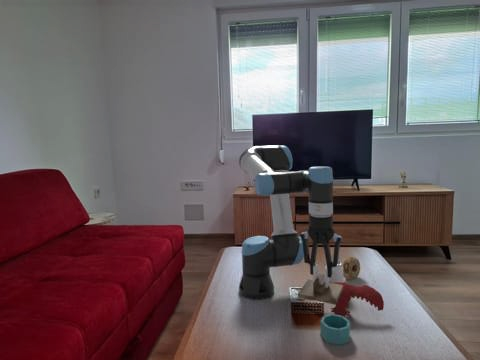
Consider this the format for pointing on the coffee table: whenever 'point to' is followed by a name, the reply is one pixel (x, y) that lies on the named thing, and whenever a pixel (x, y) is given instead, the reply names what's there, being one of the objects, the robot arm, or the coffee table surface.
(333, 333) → the teal bowl
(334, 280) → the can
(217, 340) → the coffee table surface
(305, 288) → the walnut lid
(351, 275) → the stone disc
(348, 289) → the decorative bird sculpture
